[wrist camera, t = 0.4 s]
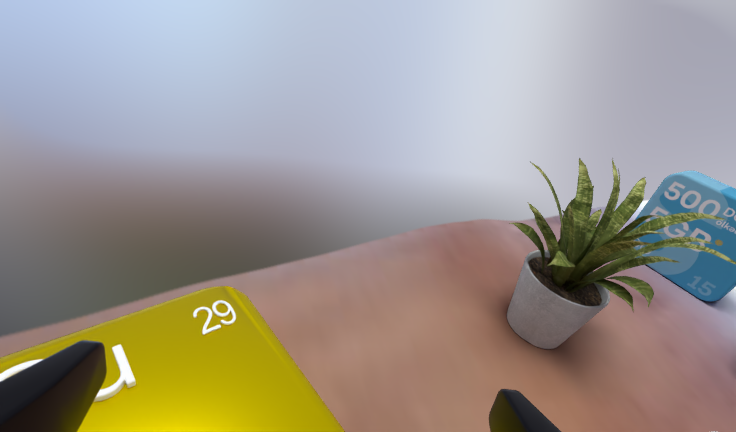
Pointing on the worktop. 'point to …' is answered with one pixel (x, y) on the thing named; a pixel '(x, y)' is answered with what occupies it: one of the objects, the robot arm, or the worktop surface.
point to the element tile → (193, 371)
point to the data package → (695, 233)
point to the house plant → (587, 262)
